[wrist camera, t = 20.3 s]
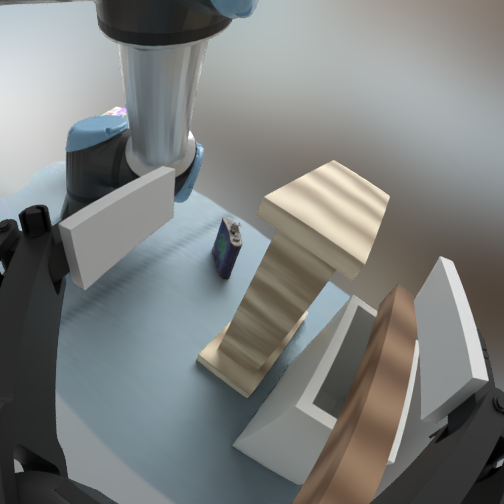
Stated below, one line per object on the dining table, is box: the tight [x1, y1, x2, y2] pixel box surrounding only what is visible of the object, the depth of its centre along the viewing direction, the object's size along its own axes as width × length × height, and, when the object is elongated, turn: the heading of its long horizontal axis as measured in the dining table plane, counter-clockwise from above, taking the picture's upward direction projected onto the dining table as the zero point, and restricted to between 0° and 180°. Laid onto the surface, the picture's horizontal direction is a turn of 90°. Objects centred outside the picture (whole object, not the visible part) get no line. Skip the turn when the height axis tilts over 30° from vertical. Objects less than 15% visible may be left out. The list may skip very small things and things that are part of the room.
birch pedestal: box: [196, 160, 390, 398], centre depth 40 cm, size 22×10×30 cm, turn 147°
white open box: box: [232, 295, 419, 485], centre depth 33 cm, size 18×12×20 cm, turn 147°
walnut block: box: [292, 284, 417, 504], centre depth 23 cm, size 28×4×4 cm, turn 147°
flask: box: [212, 217, 242, 279], centre depth 57 cm, size 9×3×11 cm, turn 18°
